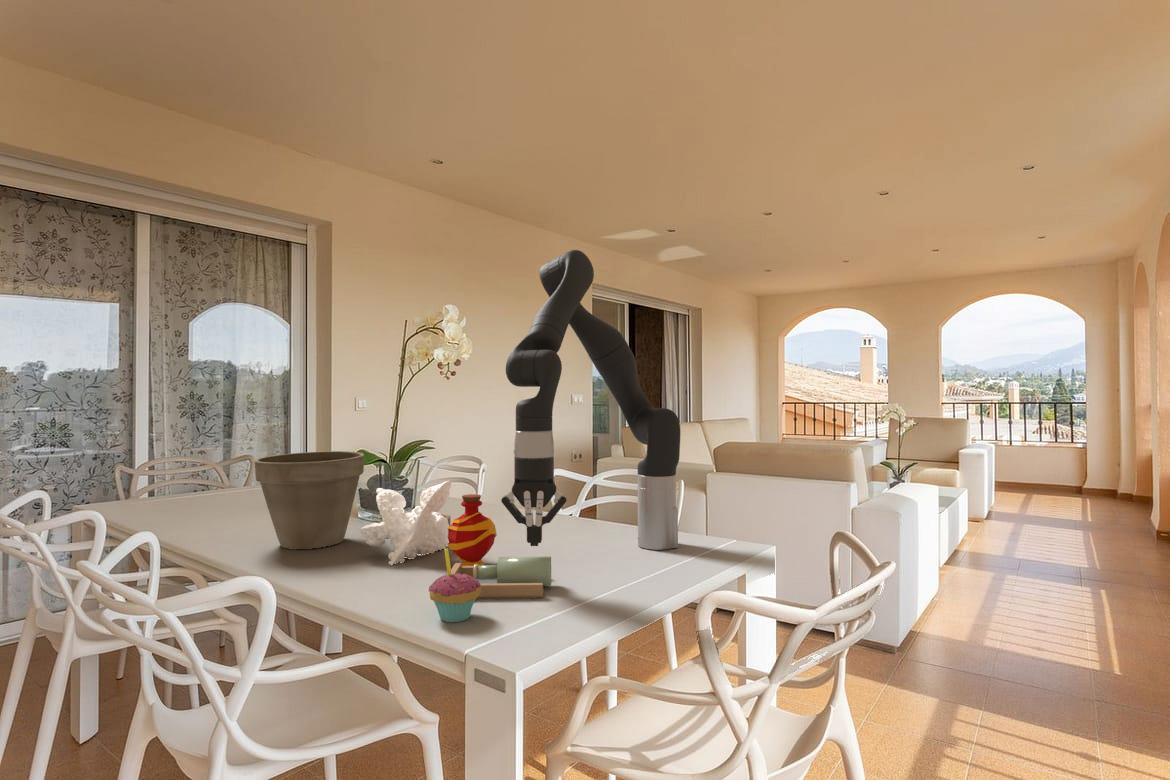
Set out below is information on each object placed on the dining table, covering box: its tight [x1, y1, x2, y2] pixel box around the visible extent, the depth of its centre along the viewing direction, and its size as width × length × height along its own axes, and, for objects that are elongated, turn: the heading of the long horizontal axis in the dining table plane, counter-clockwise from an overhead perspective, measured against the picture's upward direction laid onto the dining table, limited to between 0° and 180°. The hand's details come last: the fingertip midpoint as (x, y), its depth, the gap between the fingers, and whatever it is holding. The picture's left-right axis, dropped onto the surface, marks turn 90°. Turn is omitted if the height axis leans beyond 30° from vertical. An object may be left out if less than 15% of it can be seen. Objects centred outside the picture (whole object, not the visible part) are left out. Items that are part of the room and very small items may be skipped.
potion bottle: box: [447, 493, 498, 566], centre depth 140 cm, size 10×10×15 cm
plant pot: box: [253, 450, 365, 550], centre depth 161 cm, size 25×25×22 cm
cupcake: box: [428, 544, 482, 623], centre depth 108 cm, size 9×8×12 cm
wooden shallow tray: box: [451, 562, 545, 600], centre depth 124 cm, size 18×13×3 cm
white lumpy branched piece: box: [359, 480, 452, 565], centre depth 150 cm, size 19×20×20 cm
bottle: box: [473, 555, 552, 587], centre depth 124 cm, size 5×5×15 cm
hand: (534, 545), depth 124 cm, fingers closed
